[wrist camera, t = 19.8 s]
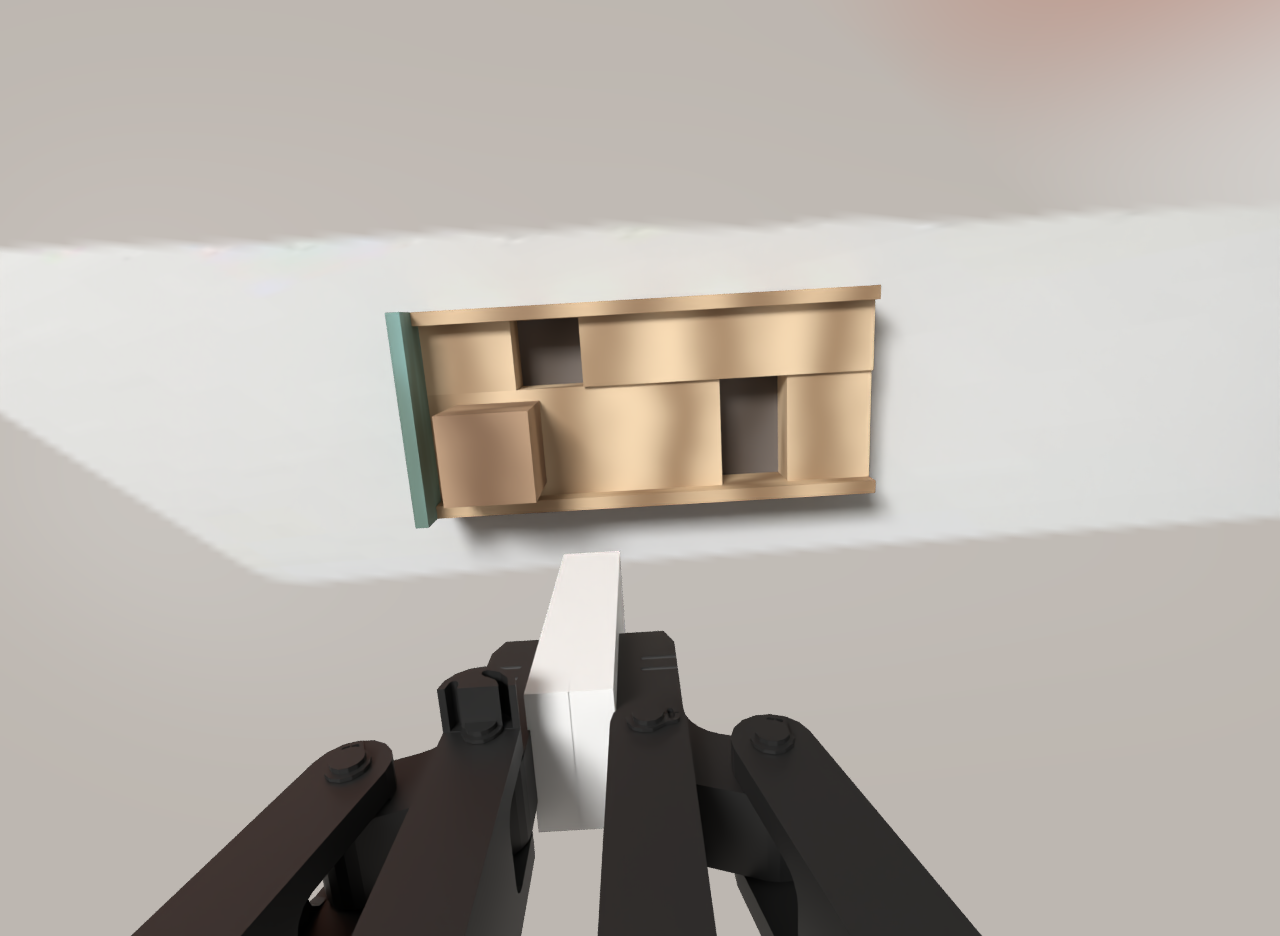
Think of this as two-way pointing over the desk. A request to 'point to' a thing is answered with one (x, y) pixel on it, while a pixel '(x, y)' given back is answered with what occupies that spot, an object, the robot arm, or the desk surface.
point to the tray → (653, 395)
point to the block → (490, 454)
